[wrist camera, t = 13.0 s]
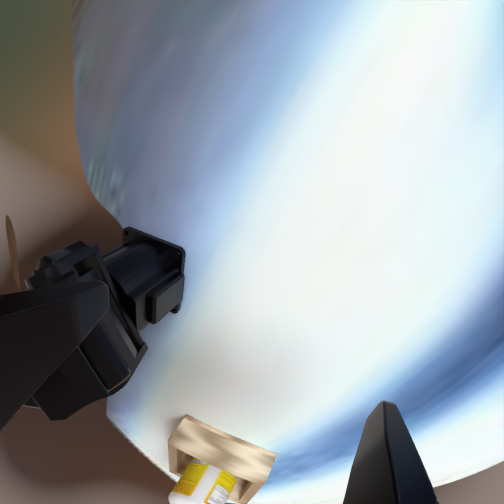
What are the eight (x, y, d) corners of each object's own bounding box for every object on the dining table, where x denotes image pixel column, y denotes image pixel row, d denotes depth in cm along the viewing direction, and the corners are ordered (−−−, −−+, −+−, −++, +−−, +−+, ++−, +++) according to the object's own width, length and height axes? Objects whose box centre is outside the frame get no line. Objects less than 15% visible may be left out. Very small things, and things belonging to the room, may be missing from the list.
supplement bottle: (196, 453, 36) (154, 517, 25) (204, 437, 33) (156, 511, 22) (237, 472, 35) (200, 539, 23) (251, 459, 32) (210, 537, 20)
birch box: (183, 451, 38) (169, 471, 34) (186, 414, 33) (167, 439, 29) (255, 482, 35) (245, 505, 31) (277, 453, 30) (265, 482, 26)
